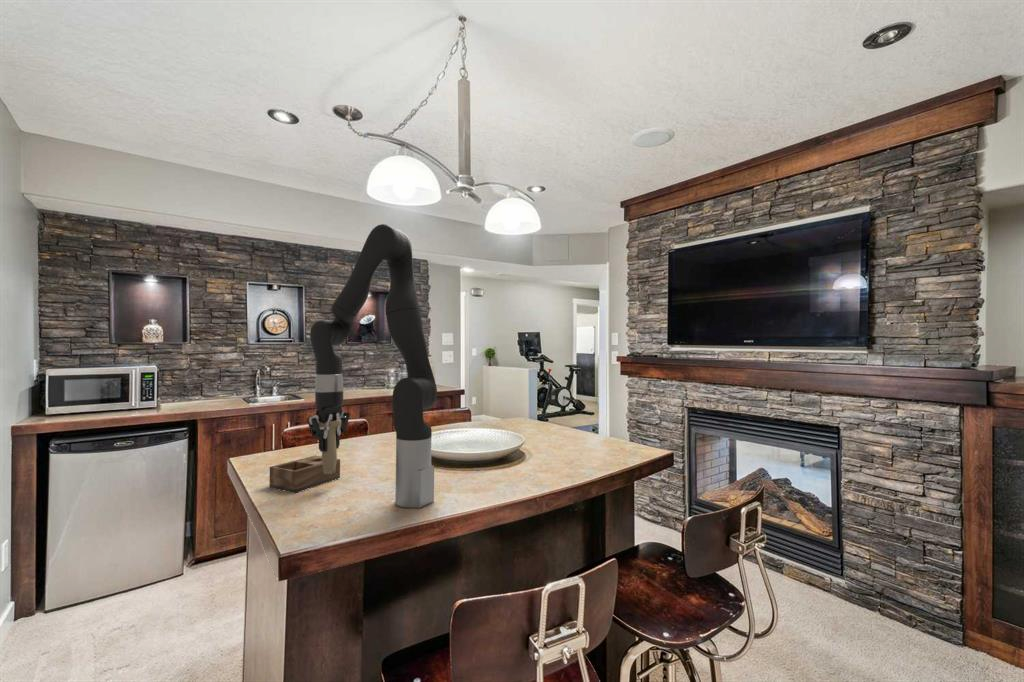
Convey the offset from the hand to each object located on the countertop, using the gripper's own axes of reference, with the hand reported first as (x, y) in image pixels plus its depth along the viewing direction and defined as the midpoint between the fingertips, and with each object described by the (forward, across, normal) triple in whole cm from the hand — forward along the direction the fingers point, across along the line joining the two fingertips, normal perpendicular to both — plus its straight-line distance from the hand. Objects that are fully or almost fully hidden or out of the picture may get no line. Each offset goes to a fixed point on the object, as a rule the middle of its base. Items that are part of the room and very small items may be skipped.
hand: (329, 449), depth 129 cm
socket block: (+11, +2, +12) cm, 17 cm away
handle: (+7, 0, 0) cm, 7 cm away
